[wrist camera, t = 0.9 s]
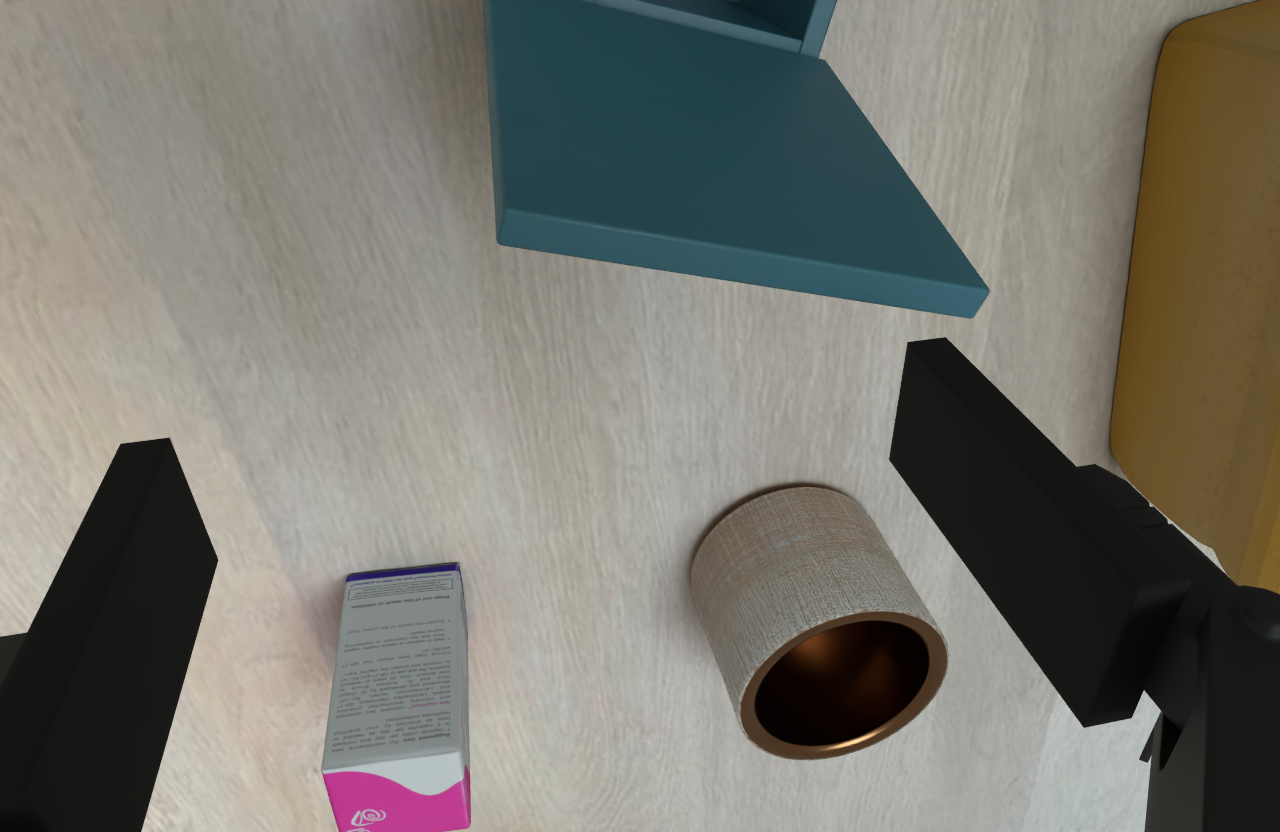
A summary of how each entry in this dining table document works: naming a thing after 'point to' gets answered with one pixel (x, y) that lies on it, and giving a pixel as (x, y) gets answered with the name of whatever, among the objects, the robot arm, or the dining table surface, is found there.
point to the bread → (1209, 294)
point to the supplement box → (400, 704)
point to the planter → (814, 625)
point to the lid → (703, 161)
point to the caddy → (744, 19)
